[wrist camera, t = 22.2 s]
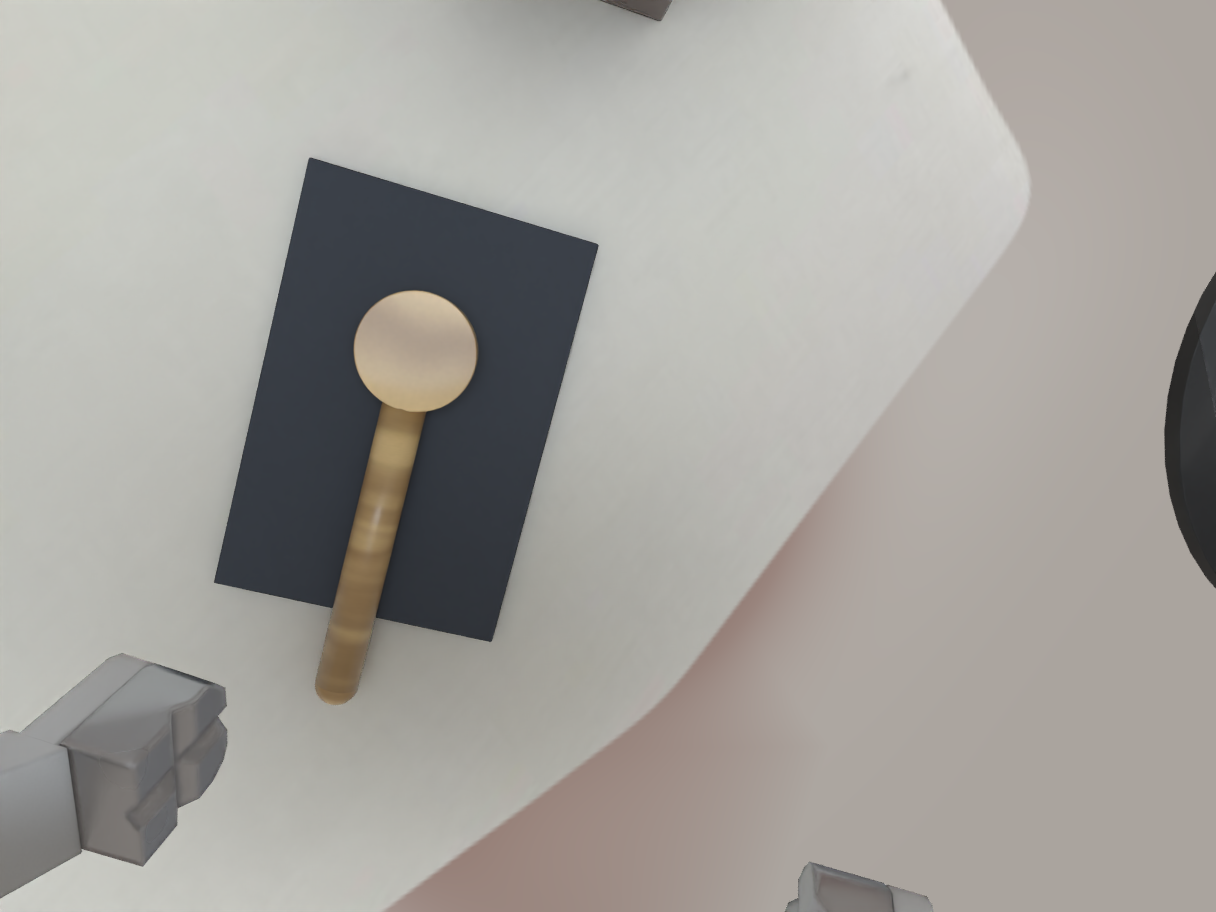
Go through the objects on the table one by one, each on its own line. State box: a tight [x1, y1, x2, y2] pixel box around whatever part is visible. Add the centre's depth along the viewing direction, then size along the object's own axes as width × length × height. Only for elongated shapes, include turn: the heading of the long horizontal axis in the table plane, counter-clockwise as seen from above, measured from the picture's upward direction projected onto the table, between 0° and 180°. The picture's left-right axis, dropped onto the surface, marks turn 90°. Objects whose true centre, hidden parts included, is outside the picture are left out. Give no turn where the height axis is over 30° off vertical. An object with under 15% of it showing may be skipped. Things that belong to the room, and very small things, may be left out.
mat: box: [214, 158, 598, 642], centre depth 35 cm, size 18×12×1 cm, turn 165°
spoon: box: [315, 290, 478, 705], centre depth 34 cm, size 18×5×2 cm, turn 165°
